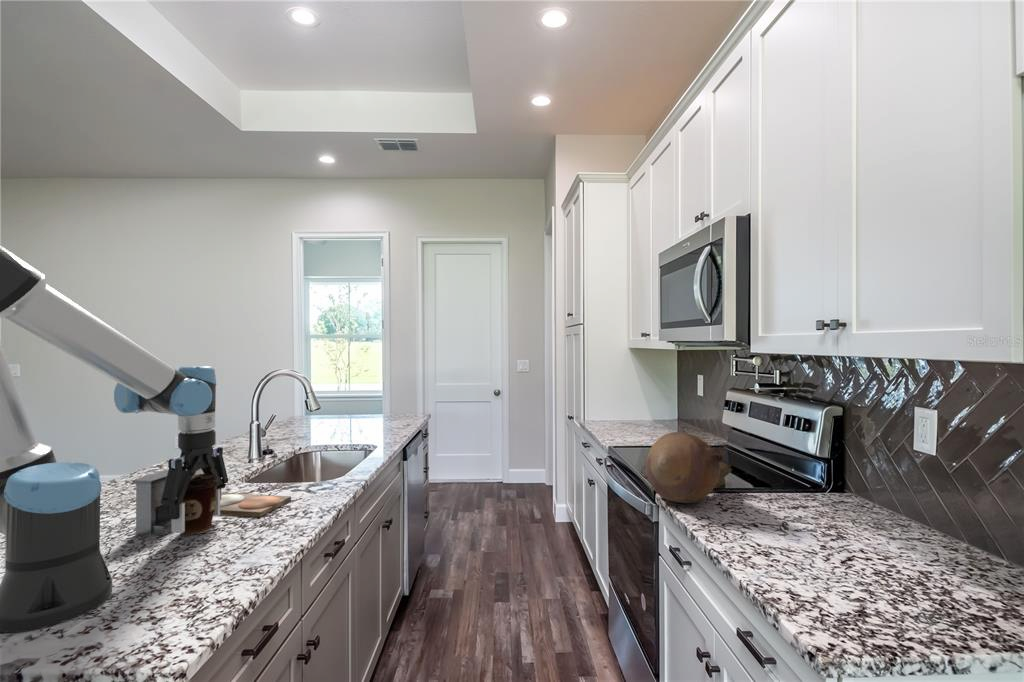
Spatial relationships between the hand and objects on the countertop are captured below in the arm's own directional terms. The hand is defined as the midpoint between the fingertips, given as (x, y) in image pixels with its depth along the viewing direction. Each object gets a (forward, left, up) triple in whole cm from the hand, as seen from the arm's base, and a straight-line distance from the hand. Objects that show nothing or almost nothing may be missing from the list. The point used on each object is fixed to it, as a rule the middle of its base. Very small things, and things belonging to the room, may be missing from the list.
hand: (197, 523), depth 114 cm
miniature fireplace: (0, +10, -2) cm, 10 cm away
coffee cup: (0, 0, -2) cm, 2 cm away
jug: (+43, -123, -2) cm, 130 cm away
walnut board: (+17, +2, -2) cm, 17 cm away
